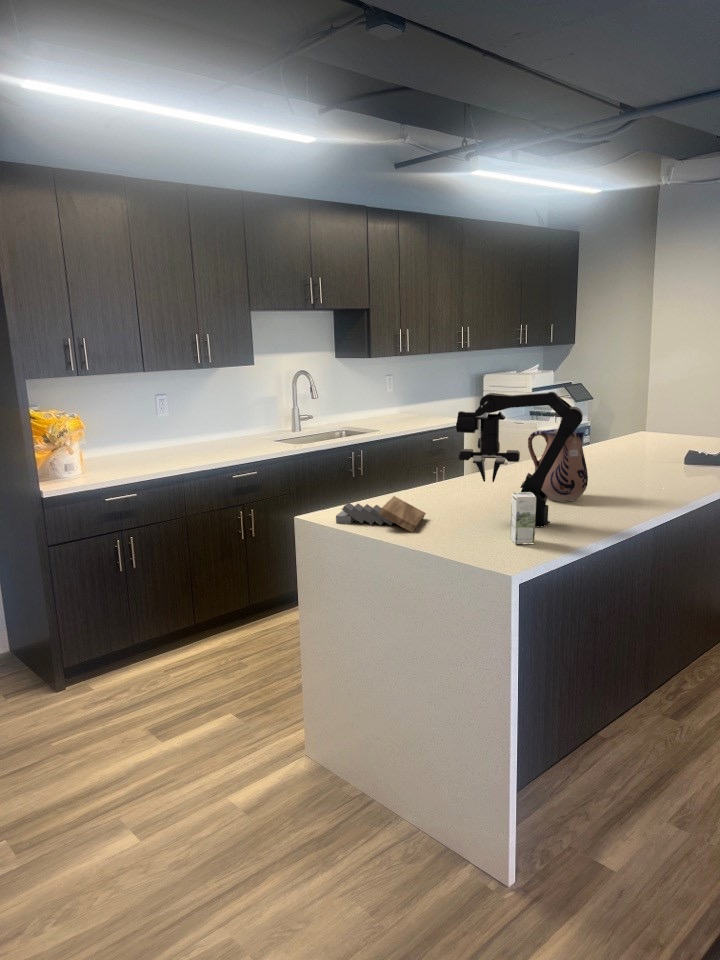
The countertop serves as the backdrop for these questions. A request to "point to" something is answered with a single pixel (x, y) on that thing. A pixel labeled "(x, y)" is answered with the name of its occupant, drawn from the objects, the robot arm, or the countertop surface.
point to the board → (402, 513)
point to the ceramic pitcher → (563, 467)
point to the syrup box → (523, 517)
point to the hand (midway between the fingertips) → (488, 481)
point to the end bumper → (344, 518)
